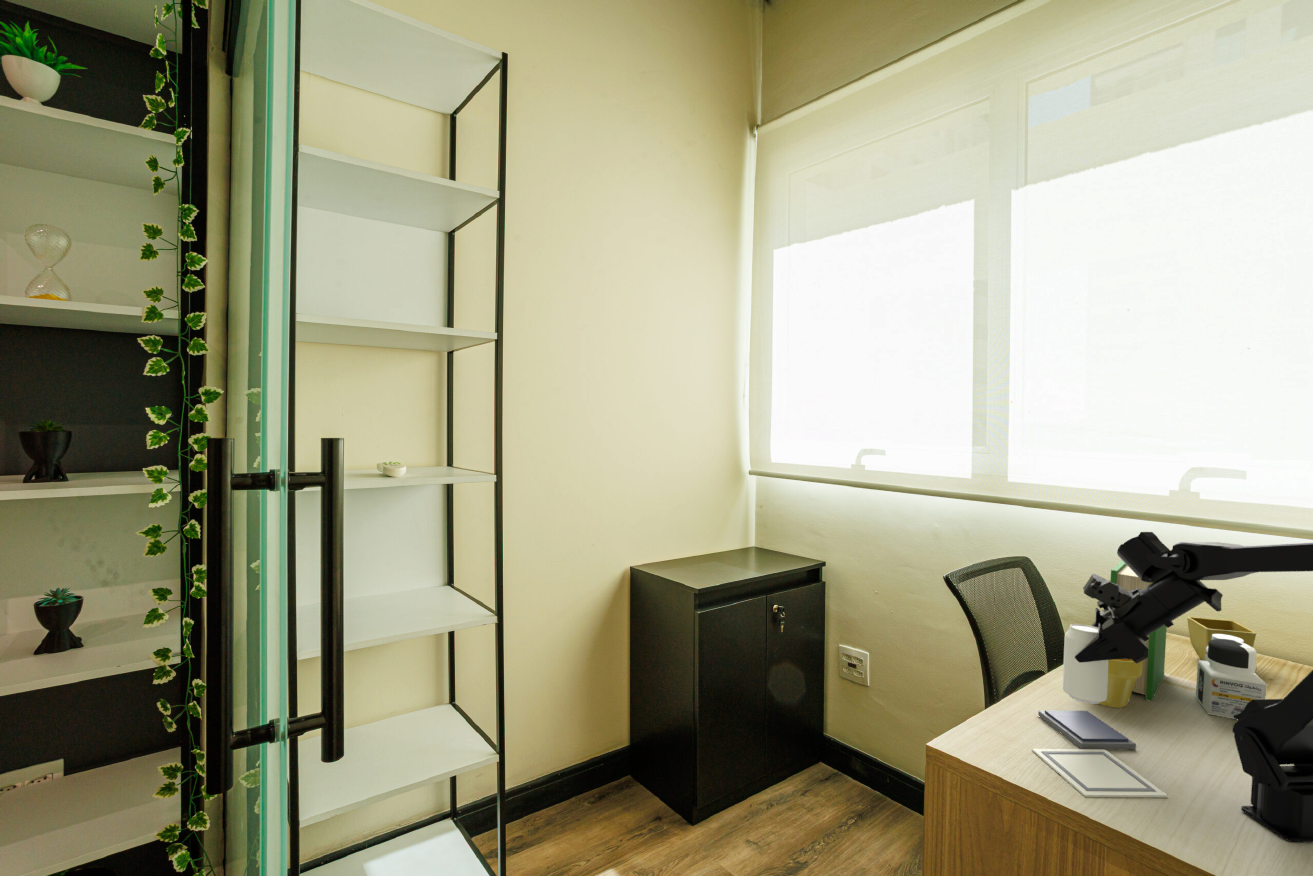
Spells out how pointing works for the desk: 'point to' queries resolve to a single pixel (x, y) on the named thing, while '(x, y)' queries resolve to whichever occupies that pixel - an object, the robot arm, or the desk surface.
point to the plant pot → (1121, 681)
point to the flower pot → (1215, 632)
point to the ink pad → (1086, 730)
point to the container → (1228, 678)
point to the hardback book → (1157, 639)
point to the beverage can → (1083, 667)
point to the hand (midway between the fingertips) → (1076, 653)
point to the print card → (1098, 773)
